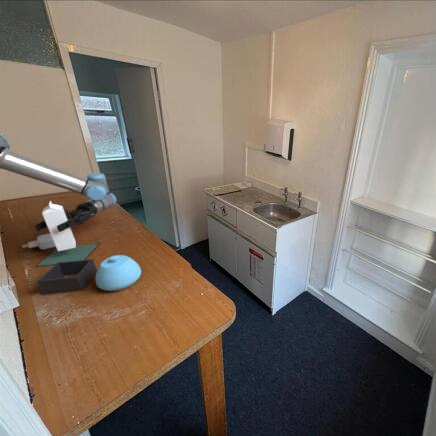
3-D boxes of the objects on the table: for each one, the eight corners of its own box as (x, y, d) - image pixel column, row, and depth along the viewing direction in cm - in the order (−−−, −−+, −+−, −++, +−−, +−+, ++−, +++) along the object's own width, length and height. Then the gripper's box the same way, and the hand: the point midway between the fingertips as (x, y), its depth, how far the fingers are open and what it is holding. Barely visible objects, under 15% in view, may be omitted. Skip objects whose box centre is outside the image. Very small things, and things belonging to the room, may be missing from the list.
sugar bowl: (110, 299, 86) (101, 273, 81) (90, 284, 92) (81, 260, 88) (149, 277, 98) (144, 254, 93) (129, 265, 104) (123, 243, 100)
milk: (58, 251, 104) (38, 206, 95) (59, 245, 108) (40, 201, 99) (76, 247, 107) (58, 203, 98) (76, 242, 112) (59, 199, 102)
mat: (37, 266, 100) (36, 265, 100) (59, 247, 114) (59, 246, 114) (81, 262, 104) (81, 261, 104) (97, 244, 118) (97, 243, 118)
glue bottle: (25, 246, 113) (66, 237, 122) (24, 255, 107) (67, 244, 116) (20, 238, 111) (63, 229, 120) (19, 246, 105) (64, 236, 115)
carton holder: (43, 294, 86) (37, 281, 84) (62, 274, 97) (57, 262, 94) (82, 289, 89) (77, 277, 87) (96, 270, 100) (92, 259, 97)
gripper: (112, 216, 121) (76, 237, 100) (71, 214, 120) (26, 235, 100) (108, 202, 118) (70, 221, 97) (66, 200, 117) (18, 219, 96)
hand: (47, 228), depth 98 cm, fingers closed on milk, 8 cm apart
